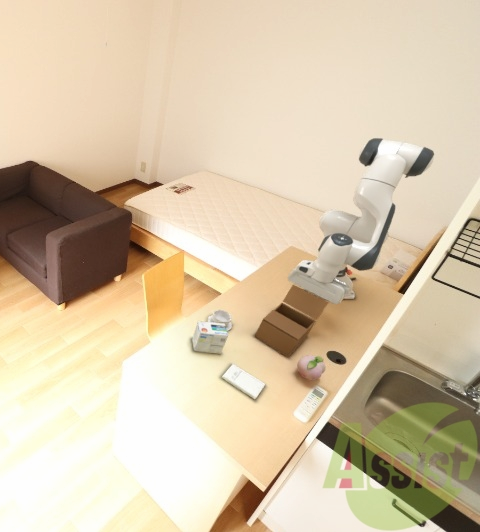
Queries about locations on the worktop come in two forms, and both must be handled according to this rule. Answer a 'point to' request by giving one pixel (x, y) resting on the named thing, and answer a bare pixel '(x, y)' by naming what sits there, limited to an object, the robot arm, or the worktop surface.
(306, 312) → the flap
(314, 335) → the worktop surface
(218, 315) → the teacup
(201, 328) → the light bulb box
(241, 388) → the hard drive
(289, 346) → the carton
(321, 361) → the decorative fruit
